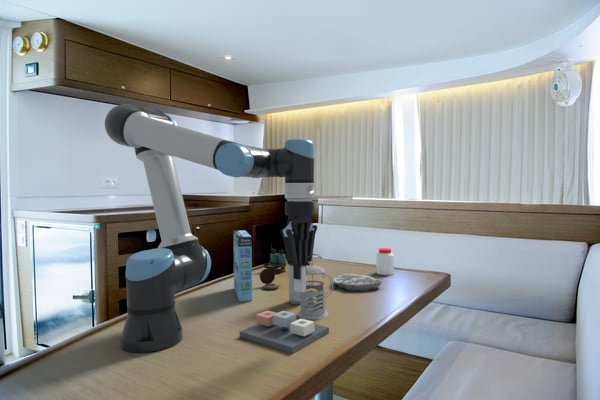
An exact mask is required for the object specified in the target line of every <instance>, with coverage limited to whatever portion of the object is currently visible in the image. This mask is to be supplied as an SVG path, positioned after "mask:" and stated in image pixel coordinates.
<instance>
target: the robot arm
mask: <svg viewBox="0 0 600 400" xmlns="http://www.w3.org/2000/svg"><path fill="white" fill-rule="evenodd" d="M104 129H105V131H106V133H107V135H108V137H109V138H110V139H111V140H112V141H113V142H114V143H116V144H118V145H121V146H125V147H129V148H134V152H135V156H136V159H137V160H138V161H140V162H142V163H143V167H144V171H145V176H146V179H147V184H148V189H149V193H150V197H151V201H152V206H153V211H154V213H155V219H156V223H157V227H158V230H159V235H160V239H161V241H160V243H159V245H158V247H157V248H152V249H151V248H150V249H146V250H141V251H138V252H135V253H134V254H132V255H130V256H129V257H128V258H127V259H126V265H125V266H126V267H125V273H124V274H125V284H126V285H125V286H126V306H127V307H126V308H127V309H126V310H127V313H126V314H127V315H126V317H125V322H124V324H123V328H122V332H121V335H120V347H121V349H122V350H124V351H127V352H131V353H151V352H156V351H162V350H165V349H168V348H171V347H173V346H175V345H177V344H178V343H180V342H181V340H183V327H182V324H181V322H180V318H179V317H178V313H177V311H176V306H175V305H176V301H175V299H176V298H175V296H176V295H175V294H177V293H179V292H181V291H184V290H187V289H189V288H192V287H195V286H197V285H198V284H200V283H202V282H203V281H205V280H206V279H207V277H208V276H209V273H210V272H211V267H212V259H211V256H210V254H209V252H208V250H207V249H205V248H204V246H202V245H200V241H199V238H198V237H197V236H195V235H193V233H192V232H191V227H190V224H189V223H190V221H189V218H188V215H187V210H186V206H185V202H184V197H183V193H182V188H181V185H180V180H179V176H178V173H177V172H178V171H177V167H176V164H175V159H174V157H176V158H179V159H182V160H186V161H188V162H192V163H194V164H198V165H201V166H204V167H208V168H212V169H213V170H216V171H219V172H220V173H221V174H223V175H225V176H228V177H233V178H241V177H243V178H245V177H246V178H252V179H260V178H284V198H285V200H287V201H285V202H284V212H285V213H284V214H285V216H288V218H287V222H286V227H284V228H281V229H280V234H281V236H282V239H283V245H284V249H285V250H284V252H285V258H286V264H287V265H290V266H293V277H294V291H298V292H305V291H306V266H310V265H311V263H312V255H313V256H314V254H313V253H314V246H315V238H316V233H317V231H318V225H317V224H316V225H315V224H313V221H312V216H314V215H315V201H314V198H315V158H316V157H315V149H314V148H315V147H314V142H313V141H312V140H310V139H303V138H293V139H287V140H285V142H284V145H283V147H281V148H262V147H255V146H250V145H246V144H241V143H238V142H234V141H232V140H227V139H224V138H220V137H217V136H214V135H210V134H207V133H203V132H199V131H196V130H193V129H189V128H186V127H182V126H179V124H178V123H177V121H176V120H175V118H174V117H172V116H171V115H170V114H168V113H166V112H163V111H161V110H155V109H150V108H146V107H142V106H138V105H135V104H129V103H124V104H118V105H116V106H114V107H112V108H111V109H109V111H108V112H107V114H106V117H105V119H104Z"/></svg>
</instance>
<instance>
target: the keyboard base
mask: <svg viewBox="0 0 600 400" xmlns="http://www.w3.org/2000/svg"><path fill="white" fill-rule="evenodd" d="M296 320H298V319H297V318H296ZM314 326H315V331H313V332H312V333H310V334H308V335H306V336H301V335H298V334H294V333H290V326H287V330H282V326H279V325H275V324H273V325H271V326H269V327H268V326H264V325H261V324H257V323H256V324H254V325H252V326H249V327H247V328H245V329H241V330H240V331H239V338H242V339H246V340H249V341H251V342H253V343H259V344H262V345H265V346H268V347H270V348H274V349H278V350H281V351H284V352H287V353H290V354H294V353H296V352H298V351H300V350H301V349H303V348H305V347H307V346H308V345H310V344H312V343H314V342H315V341H317V340H319V339H320V338H323V337H325V335H328V334H329V333H330V327H329V326H325V325H321V324H317V323H314Z"/></svg>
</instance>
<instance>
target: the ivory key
mask: <svg viewBox="0 0 600 400" xmlns="http://www.w3.org/2000/svg"><path fill="white" fill-rule="evenodd" d="M314 324H315V321H314V320H313V321H312V320H310V319H304V318H299V319H297V320H296V321H294V322H292V323H290V333H294V334H298V335H301V336H306V335H308V334H310V333H312V332H313V331H315V326H314Z"/></svg>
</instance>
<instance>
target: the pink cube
mask: <svg viewBox="0 0 600 400" xmlns="http://www.w3.org/2000/svg"><path fill="white" fill-rule="evenodd" d="M276 313H277V312H275V311H270V310H265V311H262V312H259V313H256V315H255V318H256V319H255V320H256V321H255V322H256V324H261V325H264V326H268V327H269V326H271V325H273V315H274V314H276Z"/></svg>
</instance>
